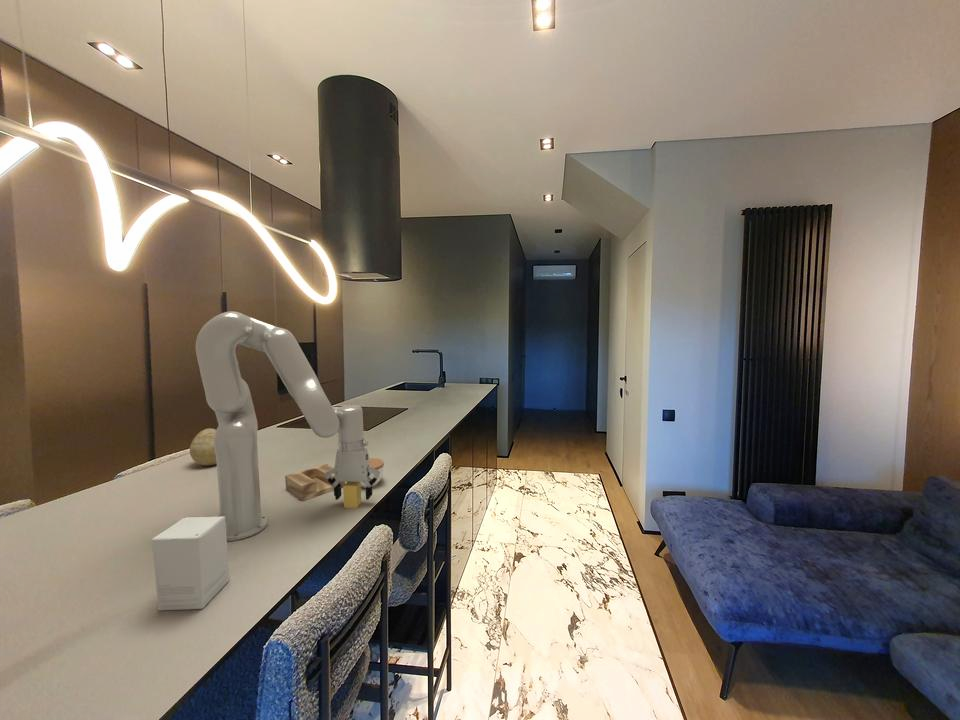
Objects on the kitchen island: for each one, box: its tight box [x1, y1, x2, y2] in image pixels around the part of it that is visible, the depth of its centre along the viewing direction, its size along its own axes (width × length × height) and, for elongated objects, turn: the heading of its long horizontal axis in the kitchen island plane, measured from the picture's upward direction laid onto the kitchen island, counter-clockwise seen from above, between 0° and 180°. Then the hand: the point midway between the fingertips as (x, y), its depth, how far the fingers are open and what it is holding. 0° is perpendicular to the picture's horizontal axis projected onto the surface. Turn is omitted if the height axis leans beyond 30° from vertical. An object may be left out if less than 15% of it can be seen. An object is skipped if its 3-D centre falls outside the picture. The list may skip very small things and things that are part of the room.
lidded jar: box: [361, 457, 385, 489], centre depth 134 cm, size 11×11×9 cm
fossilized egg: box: [189, 428, 217, 467], centre depth 153 cm, size 13×13×15 cm
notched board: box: [284, 463, 346, 502], centre depth 131 cm, size 15×13×5 cm
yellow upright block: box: [343, 482, 362, 509], centre depth 119 cm, size 4×4×7 cm
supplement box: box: [151, 516, 230, 611], centre depth 78 cm, size 9×9×15 cm
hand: (353, 497), depth 119 cm, fingers open, 9 cm apart
